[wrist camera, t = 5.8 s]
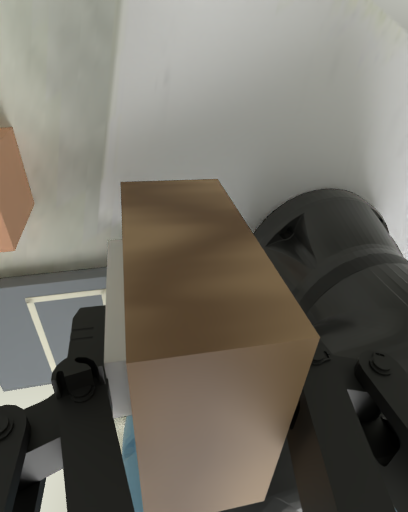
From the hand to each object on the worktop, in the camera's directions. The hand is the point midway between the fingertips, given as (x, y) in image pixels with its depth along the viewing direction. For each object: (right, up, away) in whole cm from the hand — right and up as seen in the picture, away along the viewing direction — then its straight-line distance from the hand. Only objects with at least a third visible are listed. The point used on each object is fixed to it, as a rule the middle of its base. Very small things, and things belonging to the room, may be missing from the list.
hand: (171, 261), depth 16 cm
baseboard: (-12, -7, +20) cm, 24 cm away
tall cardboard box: (0, 0, 0) cm, 0 cm away
